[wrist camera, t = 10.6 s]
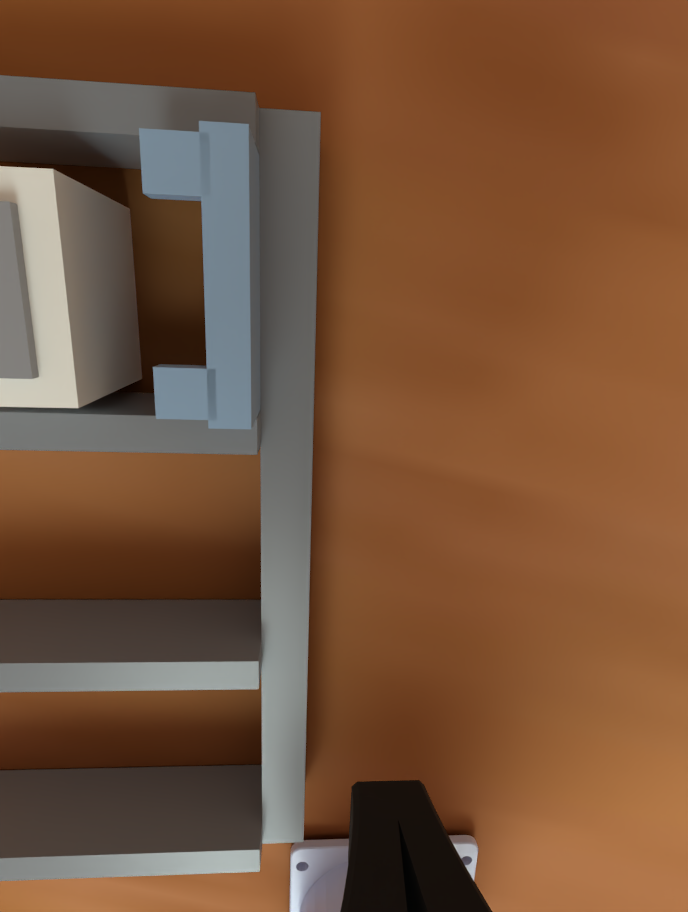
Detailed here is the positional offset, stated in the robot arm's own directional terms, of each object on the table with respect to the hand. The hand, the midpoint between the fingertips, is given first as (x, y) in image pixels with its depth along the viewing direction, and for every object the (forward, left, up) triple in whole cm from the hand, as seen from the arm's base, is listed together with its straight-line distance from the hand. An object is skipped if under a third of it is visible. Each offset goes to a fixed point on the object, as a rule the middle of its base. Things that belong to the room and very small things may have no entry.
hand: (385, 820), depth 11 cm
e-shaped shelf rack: (+2, +8, -9) cm, 12 cm away
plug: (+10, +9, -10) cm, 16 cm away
